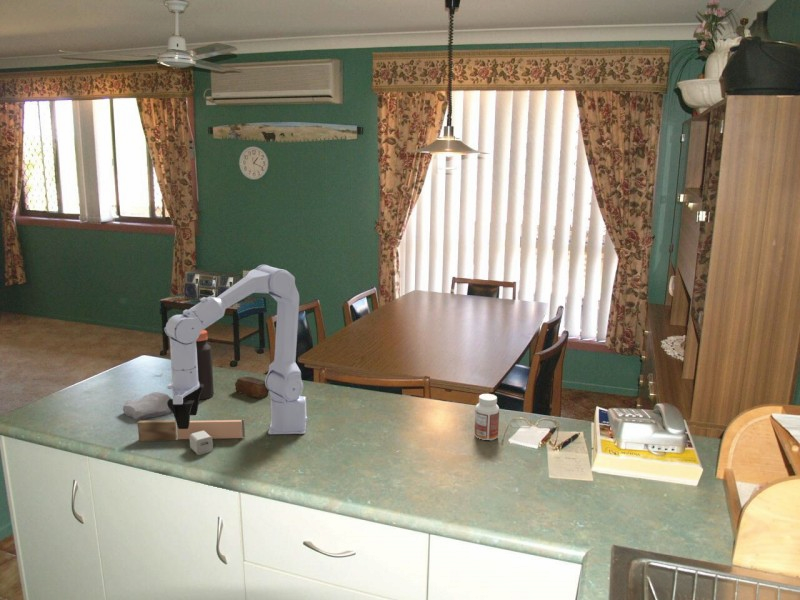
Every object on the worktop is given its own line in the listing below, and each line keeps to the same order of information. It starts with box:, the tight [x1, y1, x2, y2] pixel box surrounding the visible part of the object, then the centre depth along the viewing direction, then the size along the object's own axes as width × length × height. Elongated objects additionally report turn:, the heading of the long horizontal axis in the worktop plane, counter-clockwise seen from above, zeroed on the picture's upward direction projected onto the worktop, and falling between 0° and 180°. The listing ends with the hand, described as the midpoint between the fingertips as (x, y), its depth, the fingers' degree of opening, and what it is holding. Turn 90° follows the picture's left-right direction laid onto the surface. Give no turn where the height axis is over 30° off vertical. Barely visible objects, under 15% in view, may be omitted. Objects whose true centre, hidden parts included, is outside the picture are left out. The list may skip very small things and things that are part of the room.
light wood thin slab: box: [176, 418, 246, 440], centre depth 158 cm, size 17×1×5 cm, turn 95°
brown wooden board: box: [137, 419, 178, 442], centre depth 157 cm, size 9×1×5 cm, turn 95°
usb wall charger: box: [189, 431, 214, 456], centre depth 153 cm, size 4×7×4 cm, turn 39°
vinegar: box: [196, 329, 215, 401], centre depth 185 cm, size 7×7×20 cm
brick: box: [234, 376, 270, 400], centre depth 189 cm, size 11×4×5 cm, turn 57°
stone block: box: [122, 391, 172, 421], centre depth 174 cm, size 12×5×10 cm
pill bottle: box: [474, 393, 500, 441], centre depth 162 cm, size 6×6×11 cm
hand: (187, 421), depth 146 cm, fingers open, 7 cm apart
